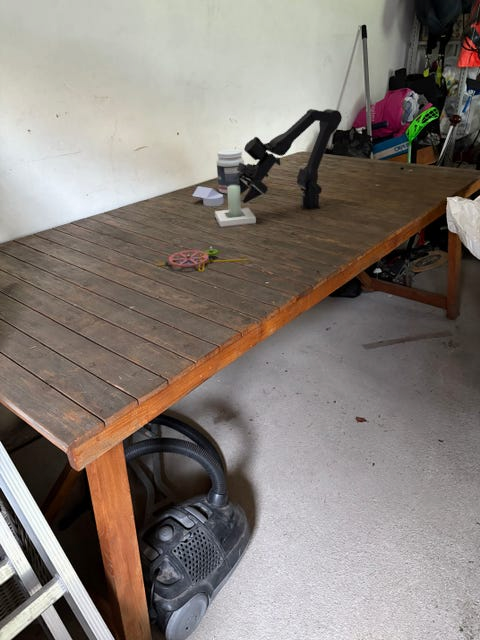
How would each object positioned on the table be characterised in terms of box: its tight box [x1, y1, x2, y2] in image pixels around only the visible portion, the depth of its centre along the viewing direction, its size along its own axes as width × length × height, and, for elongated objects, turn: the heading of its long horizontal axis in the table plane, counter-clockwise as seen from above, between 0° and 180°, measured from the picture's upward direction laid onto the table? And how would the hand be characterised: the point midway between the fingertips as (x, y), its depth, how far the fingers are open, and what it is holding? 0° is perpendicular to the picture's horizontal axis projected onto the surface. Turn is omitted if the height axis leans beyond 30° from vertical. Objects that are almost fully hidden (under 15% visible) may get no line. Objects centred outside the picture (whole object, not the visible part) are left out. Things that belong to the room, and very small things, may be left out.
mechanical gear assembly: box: [155, 246, 248, 273], centre depth 164 cm, size 30×4×15 cm
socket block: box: [214, 207, 257, 228], centre depth 202 cm, size 14×14×2 cm
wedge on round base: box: [192, 185, 224, 207], centre depth 225 cm, size 9×7×13 cm
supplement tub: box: [216, 149, 245, 195], centre depth 238 cm, size 13×13×18 cm
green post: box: [227, 185, 242, 218], centre depth 199 cm, size 5×5×13 cm
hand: (238, 199), depth 199 cm, fingers open, 9 cm apart
